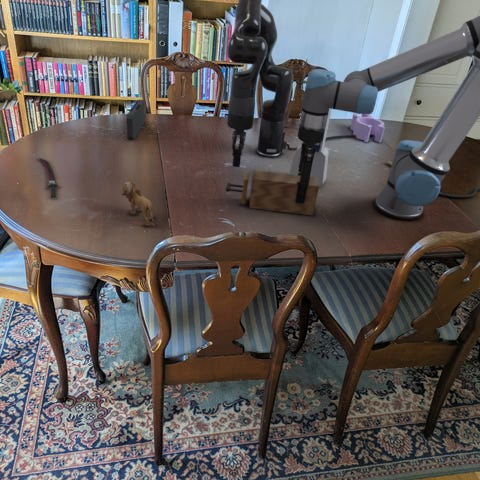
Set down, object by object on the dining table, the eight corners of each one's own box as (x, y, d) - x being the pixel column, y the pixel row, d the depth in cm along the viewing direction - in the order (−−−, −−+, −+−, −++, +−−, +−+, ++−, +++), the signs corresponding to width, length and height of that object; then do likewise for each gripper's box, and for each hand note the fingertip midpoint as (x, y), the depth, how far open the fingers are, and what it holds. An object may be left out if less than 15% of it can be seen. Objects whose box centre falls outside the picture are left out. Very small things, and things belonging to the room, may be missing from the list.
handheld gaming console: (138, 121, 203) (138, 98, 197) (145, 121, 203) (144, 98, 198) (126, 140, 184) (125, 115, 178) (133, 140, 184) (132, 115, 178)
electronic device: (325, 180, 169) (342, 97, 152) (321, 188, 163) (339, 103, 146) (292, 173, 172) (306, 91, 155) (287, 181, 165) (301, 96, 149)
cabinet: (249, 207, 147) (252, 178, 141) (250, 198, 152) (253, 170, 147) (313, 215, 146) (319, 186, 141) (312, 206, 152) (317, 177, 146)
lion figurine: (118, 210, 138) (116, 182, 133) (132, 204, 141) (131, 177, 137) (151, 229, 130) (150, 201, 126) (165, 223, 134) (165, 195, 129)
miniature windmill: (301, 130, 212) (313, 61, 196) (283, 127, 213) (293, 58, 197) (303, 124, 220) (314, 57, 204) (285, 121, 221) (295, 54, 205)
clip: (343, 126, 223) (346, 112, 219) (367, 127, 225) (371, 113, 221) (360, 142, 206) (364, 127, 202) (386, 142, 209) (390, 127, 205)
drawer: (224, 201, 147) (226, 177, 142) (226, 194, 151) (228, 170, 147) (301, 210, 146) (306, 186, 142) (301, 203, 151) (305, 179, 146)
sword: (61, 197, 141) (61, 193, 140) (50, 198, 139) (50, 194, 139) (49, 160, 164) (48, 156, 163) (39, 160, 163) (39, 157, 162)
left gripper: (230, 102, 139) (226, 156, 149) (226, 116, 128) (221, 173, 137) (255, 105, 139) (249, 159, 148) (253, 119, 128) (246, 176, 137)
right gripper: (298, 114, 143) (287, 182, 155) (300, 136, 126) (287, 210, 139) (322, 117, 142) (309, 185, 155) (327, 139, 126) (312, 213, 139)
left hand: (236, 166), depth 143 cm, fingers closed
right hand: (299, 197), depth 147 cm, fingers closed on cabinet, 6 cm apart
